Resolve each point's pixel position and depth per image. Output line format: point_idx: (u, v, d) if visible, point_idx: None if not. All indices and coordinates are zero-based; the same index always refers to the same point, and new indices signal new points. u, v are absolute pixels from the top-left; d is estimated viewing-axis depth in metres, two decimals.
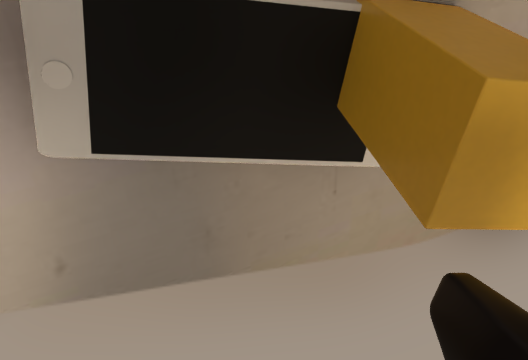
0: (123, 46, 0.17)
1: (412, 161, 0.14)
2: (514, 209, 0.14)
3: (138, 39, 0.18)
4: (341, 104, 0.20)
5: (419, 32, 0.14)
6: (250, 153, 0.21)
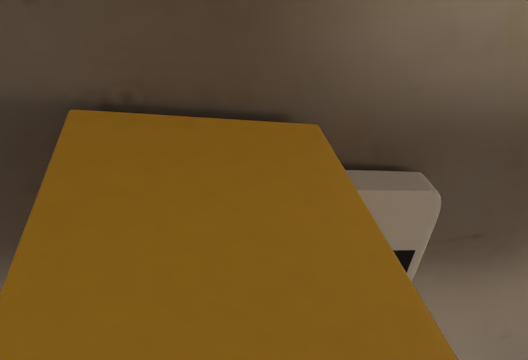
0: None
1: None
2: None
3: None
4: None
5: None
6: None
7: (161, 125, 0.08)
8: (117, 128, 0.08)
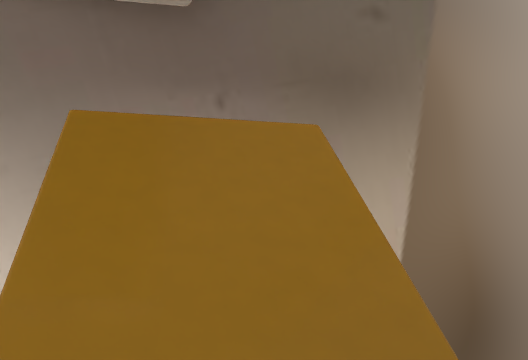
0: None
1: None
2: None
3: None
4: None
5: None
6: None
7: (161, 125, 0.08)
8: (117, 128, 0.08)
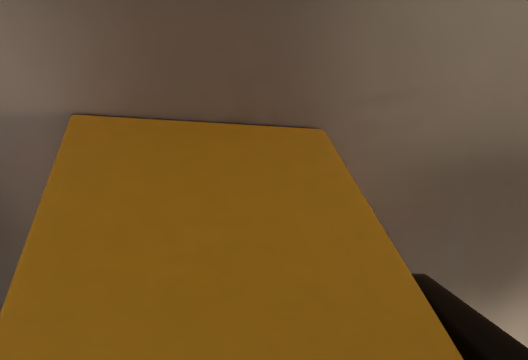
0: None
1: None
2: None
3: None
4: None
5: None
6: None
7: (165, 130, 0.08)
8: (120, 134, 0.08)
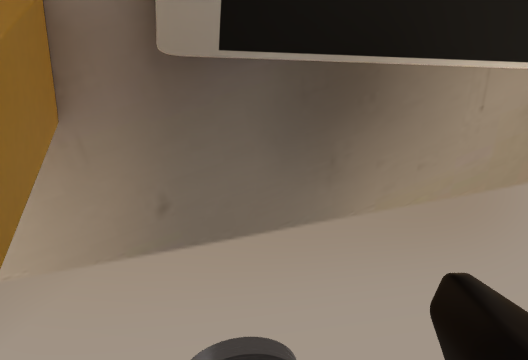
0: None
1: None
2: None
3: None
4: None
5: None
6: (402, 49, 0.17)
7: (45, 46, 0.15)
8: (41, 26, 0.15)
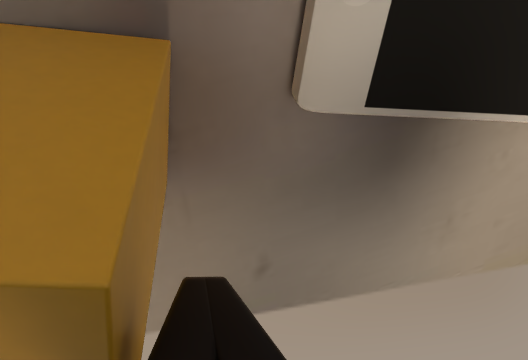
0: None
1: None
2: None
3: None
4: None
5: None
6: None
7: (168, 101, 0.13)
8: (168, 79, 0.12)
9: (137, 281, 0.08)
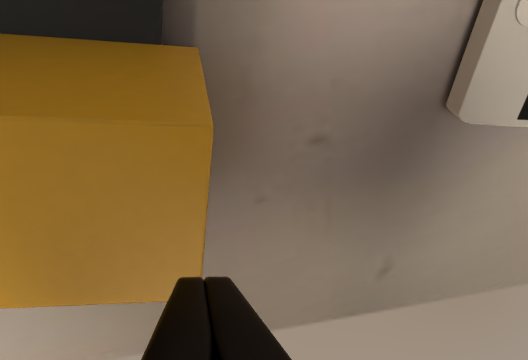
0: None
1: None
2: None
3: None
4: None
5: None
6: None
7: (184, 195, 0.09)
8: (175, 164, 0.09)
9: None
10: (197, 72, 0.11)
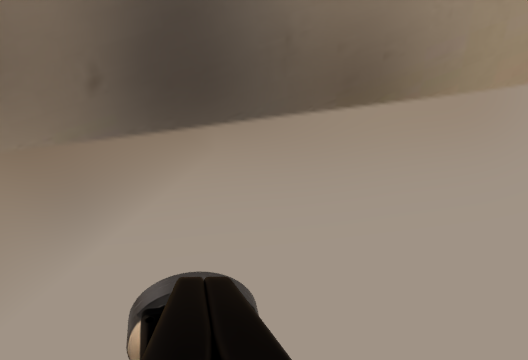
0: None
1: None
2: None
3: None
4: None
5: None
6: None
7: None
8: None
9: None
10: None
